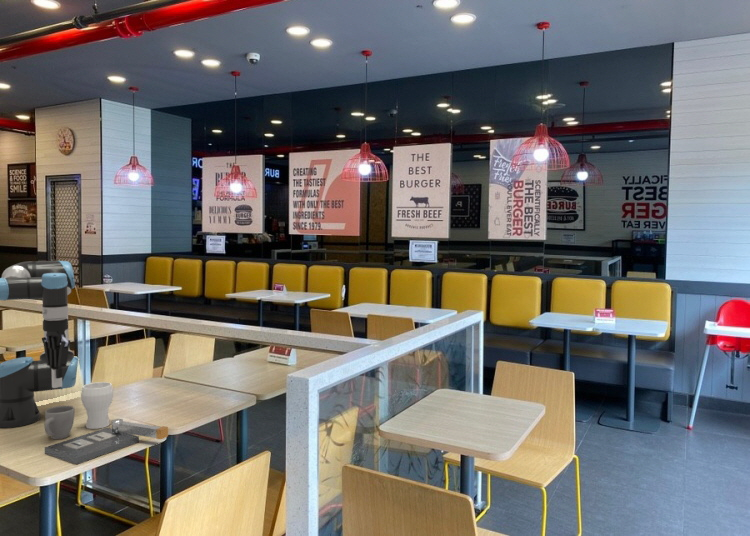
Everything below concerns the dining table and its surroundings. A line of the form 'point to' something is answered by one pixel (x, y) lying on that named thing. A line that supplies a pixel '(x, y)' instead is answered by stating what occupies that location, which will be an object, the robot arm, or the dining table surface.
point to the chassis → (91, 445)
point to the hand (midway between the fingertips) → (57, 386)
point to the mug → (59, 421)
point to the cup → (97, 403)
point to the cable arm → (139, 429)
